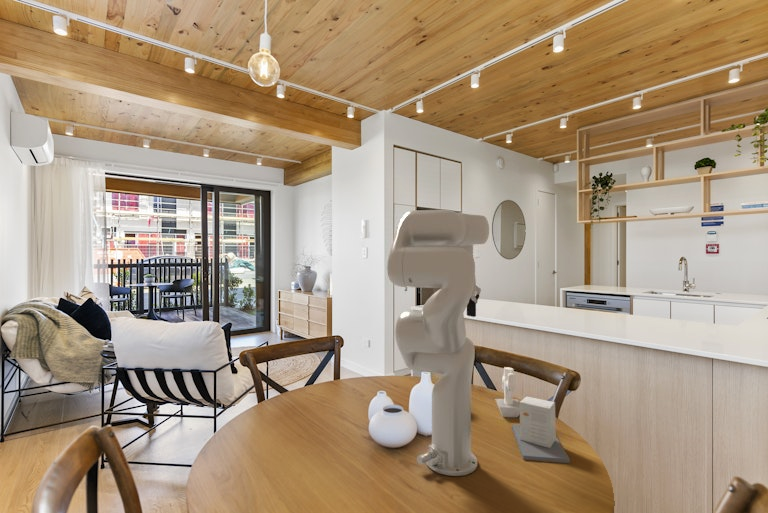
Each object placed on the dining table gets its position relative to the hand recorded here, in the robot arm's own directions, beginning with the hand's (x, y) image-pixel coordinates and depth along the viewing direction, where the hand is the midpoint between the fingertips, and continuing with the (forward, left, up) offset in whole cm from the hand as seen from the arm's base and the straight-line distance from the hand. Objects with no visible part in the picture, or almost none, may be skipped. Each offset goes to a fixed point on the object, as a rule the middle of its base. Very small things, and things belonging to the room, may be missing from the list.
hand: (460, 317), depth 118 cm
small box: (+8, -21, -32) cm, 39 cm away
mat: (+8, -21, -32) cm, 39 cm away
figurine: (+18, -4, -32) cm, 37 cm away
